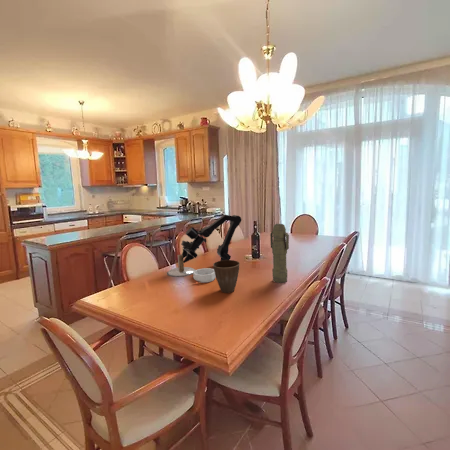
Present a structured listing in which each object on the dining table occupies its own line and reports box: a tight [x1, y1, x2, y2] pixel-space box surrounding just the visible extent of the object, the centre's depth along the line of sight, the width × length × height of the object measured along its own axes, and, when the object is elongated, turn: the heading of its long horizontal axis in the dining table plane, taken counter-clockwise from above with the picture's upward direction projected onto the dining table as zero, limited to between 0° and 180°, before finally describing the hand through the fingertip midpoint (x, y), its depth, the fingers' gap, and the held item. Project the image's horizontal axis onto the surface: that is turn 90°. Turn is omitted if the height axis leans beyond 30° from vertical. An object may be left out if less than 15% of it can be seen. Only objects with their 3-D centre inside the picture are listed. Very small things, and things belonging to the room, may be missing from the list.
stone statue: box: [269, 223, 290, 284], centre depth 173 cm, size 9×12×35 cm
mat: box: [166, 268, 196, 278], centre depth 197 cm, size 20×20×1 cm
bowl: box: [192, 267, 216, 284], centre depth 184 cm, size 14×14×5 cm
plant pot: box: [212, 259, 240, 294], centre depth 162 cm, size 15×15×16 cm
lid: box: [167, 253, 195, 277], centre depth 196 cm, size 18×18×12 cm
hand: (181, 260), depth 196 cm, fingers open, 9 cm apart
